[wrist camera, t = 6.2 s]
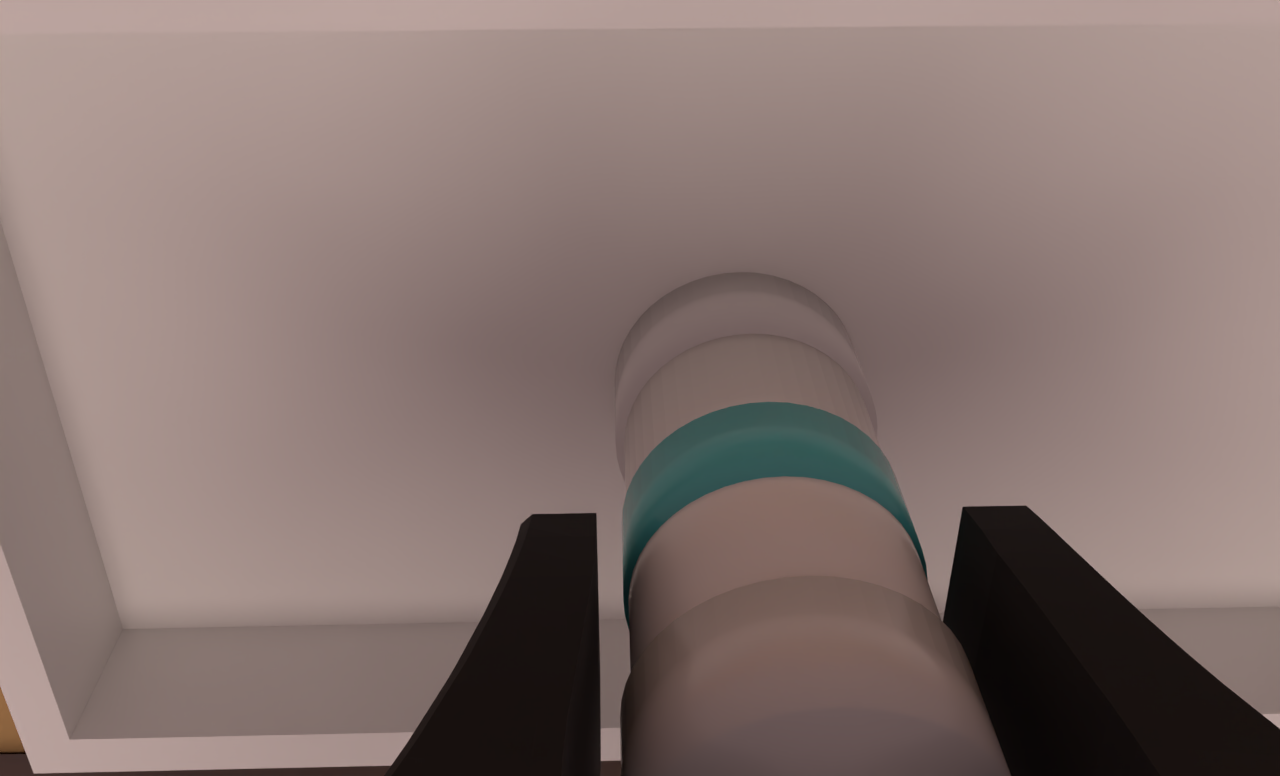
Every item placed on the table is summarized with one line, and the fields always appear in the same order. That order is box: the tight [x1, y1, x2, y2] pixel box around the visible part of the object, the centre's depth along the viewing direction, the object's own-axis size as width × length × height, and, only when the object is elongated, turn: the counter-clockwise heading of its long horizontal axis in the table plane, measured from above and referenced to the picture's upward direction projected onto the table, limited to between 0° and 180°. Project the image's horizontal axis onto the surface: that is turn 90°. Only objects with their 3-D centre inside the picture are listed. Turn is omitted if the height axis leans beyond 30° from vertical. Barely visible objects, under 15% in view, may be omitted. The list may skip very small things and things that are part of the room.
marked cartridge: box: [615, 272, 1011, 776], centre depth 12 cm, size 3×3×7 cm
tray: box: [0, 0, 1280, 773], centre depth 14 cm, size 10×18×2 cm, turn 90°
